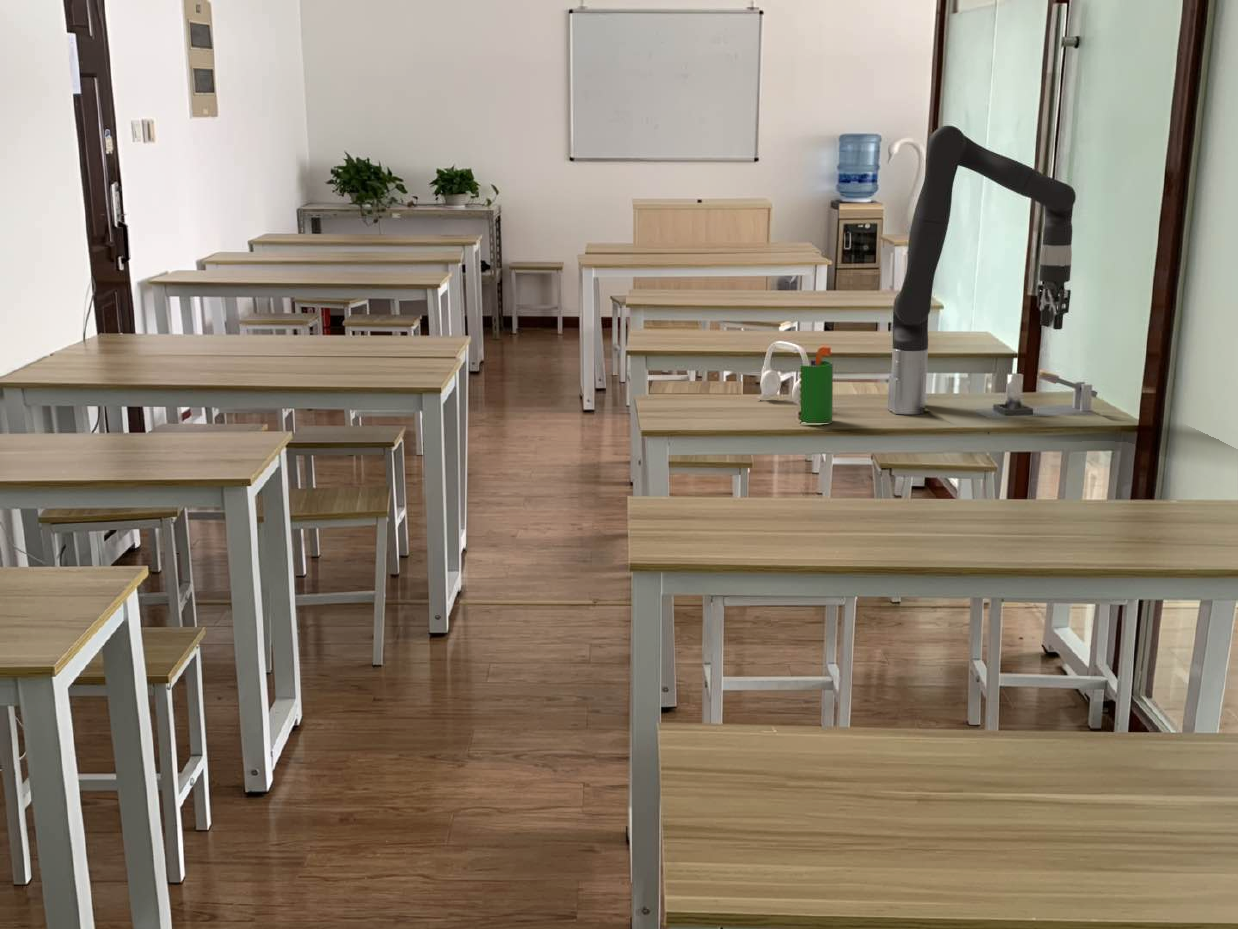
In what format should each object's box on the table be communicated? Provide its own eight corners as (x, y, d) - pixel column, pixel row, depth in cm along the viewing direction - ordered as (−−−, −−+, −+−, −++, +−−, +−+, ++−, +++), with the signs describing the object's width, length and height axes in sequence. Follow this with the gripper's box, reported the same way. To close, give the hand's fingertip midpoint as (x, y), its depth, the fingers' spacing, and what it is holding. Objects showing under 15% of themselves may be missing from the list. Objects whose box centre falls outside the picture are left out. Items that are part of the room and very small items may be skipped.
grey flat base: (989, 423, 320) (990, 391, 318) (970, 414, 332) (972, 383, 330) (1099, 419, 324) (1101, 387, 322) (1077, 409, 335) (1079, 378, 333)
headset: (818, 410, 341) (819, 345, 337) (797, 412, 338) (798, 348, 333) (774, 398, 358) (775, 336, 354) (754, 401, 355) (755, 339, 350)
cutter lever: (1040, 378, 324) (1043, 370, 324) (1036, 377, 326) (1039, 369, 326) (1096, 398, 327) (1099, 390, 327) (1092, 396, 330) (1095, 388, 329)
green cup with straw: (798, 417, 332) (800, 343, 327) (832, 418, 330) (834, 343, 325) (797, 425, 322) (798, 349, 317) (832, 426, 320) (834, 349, 316)
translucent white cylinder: (1008, 414, 325) (1011, 376, 322) (1002, 410, 328) (1004, 373, 326) (1023, 413, 325) (1025, 375, 323) (1016, 410, 329) (1019, 373, 326)
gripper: (1029, 260, 325) (1025, 324, 329) (1054, 265, 311) (1050, 331, 315) (1056, 259, 326) (1052, 323, 330) (1083, 264, 312) (1078, 330, 316)
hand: (1051, 327), depth 322 cm, fingers open, 6 cm apart
